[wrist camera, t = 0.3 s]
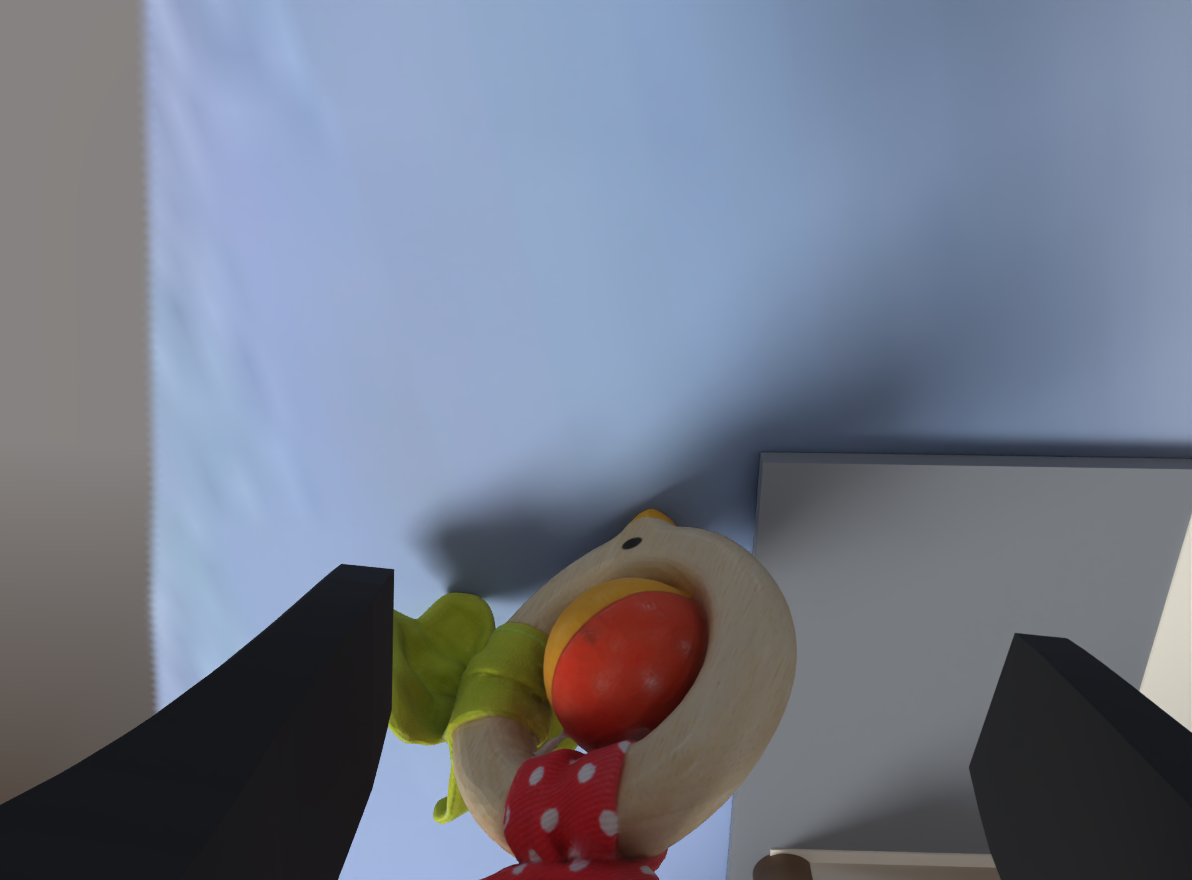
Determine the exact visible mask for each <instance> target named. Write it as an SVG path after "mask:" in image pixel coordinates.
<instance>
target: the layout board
mask: <svg viewBox="0 0 1192 880" xmlns="http://www.w3.org/2000/svg"><path fill="white" fill-rule="evenodd" d="M752 555H753V556H754V557H755V558H756V559H757V560H758V561H759V562H760V563H761V564H762V565H763V566H764V567H765V568H766V569H767V571H768V572H769V573H770V575H771V576H772V577H773V579H774V580H775V582H776V583H777V585H778V586H779V588H780V590H781V592H782V593H783V595H784V597H785V599H786V602H787V604H788V606H789V609H790V613H791V616H792V619H793V623H794V628H795V633H796V643H797V664H796V673H795V679H794V683H793V687H792V691H791V695H790V698H789V701H788V704H787V706H786V709H785V712H784V714H783V717H782V719H781V721H780V723H779V726H778V728H777V730H776V732H775V734H774V735H773V737H772V739H771V741H770V742H769V744H768V746H767V748H766V749H765V751H764V753H763V755H762V756H761V758H760V759H759V761H758V763H757V764H756V765H755V767H754V768H753V769H752V771H751V772H750V774H749V775H748V776H747V778H746V779H745V780H744V782H743V783H742V784H741V785H740V786H739V788H738V789H737V790H736V791H735V792H734V793H733V800H732V812H731V825H730V837H729V849H728V862H727V874H726V880H753V869H754V867H755V865H756V864H757V862H758V861H759V860H761V859H762V858H763V857H765V856H767V855H769V854H770V856H772V855H776V854H785V853H787V854H794V855H798V856H800V857H803V858H804V859H806V860H807V861H808V862H809V863H844V864H881V865H917V866H954V867H990V868H996V866H995V863H994V861H993V858H992V855H991V853H990V850H989V847H988V843H987V839H986V836H985V832H984V828H983V825H982V821H981V817H980V814H979V809H978V805H977V801H976V797H975V792H974V788H973V784H972V780H971V775H970V771H969V765H970V762H971V759H972V756H973V753H974V750H975V747H976V745H977V742H978V739H979V736H980V733H981V730H982V727H983V724H984V721H985V718H986V715H987V712H988V709H989V707H990V704H991V701H992V698H993V695H994V692H995V689H996V686H997V683H998V680H999V677H1000V674H1001V671H1002V669H1003V666H1004V663H1005V660H1006V657H1007V654H1008V651H1009V648H1010V645H1011V642H1012V639H1013V636H1014V634H1015V633H1022V634H1031V635H1041V636H1051V637H1061V638H1068V639H1069V640H1071V641H1072V642H1074V643H1075V644H1077V645H1078V646H1080V647H1081V648H1083V649H1084V650H1085V651H1087V652H1088V653H1090V654H1091V655H1092V656H1094V657H1095V658H1097V659H1098V660H1099V661H1101V662H1102V663H1103V664H1105V665H1106V666H1107V667H1109V668H1110V669H1111V670H1112V671H1114V672H1115V673H1116V674H1118V675H1119V676H1120V677H1122V678H1123V679H1124V680H1126V681H1127V682H1128V683H1129V684H1131V685H1132V686H1133V687H1134V688H1136V689H1137V690H1138V691H1140V692H1141V693H1142V694H1143V695H1145V696H1146V697H1147V698H1148V699H1150V700H1151V701H1152V702H1154V703H1155V704H1156V705H1157V706H1159V707H1160V708H1161V709H1162V710H1164V711H1165V712H1166V713H1167V714H1169V715H1170V716H1171V717H1173V718H1174V719H1175V720H1176V721H1178V722H1179V723H1180V724H1182V725H1183V726H1184V727H1185V728H1187V729H1188V730H1189V731H1190V732H1192V459H1172V458H1108V457H1044V456H981V455H917V454H853V453H789V452H761V453H760V466H759V478H758V490H757V503H756V515H755V527H754V540H753V552H752Z"/></svg>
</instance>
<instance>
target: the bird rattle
mask: <svg viewBox="0 0 1192 880" xmlns="http://www.w3.org/2000/svg"><path fill="white" fill-rule="evenodd" d="M796 664H797V643H796V633H795V628H794V623H793V619H792V616H791V613H790V609H789V606H788V604H787V602H786V599H785V597H784V595H783V593H782V592H781V590H780V588H779V586H778V585H777V583H776V582H775V580H774V579H773V577H772V576H771V575H770V573H769V572H768V571H767V569H766V568H765V567H764V566H763V565H762V564H761V563H760V562H759V561H758V560H757V559H756V558H755V557H754V556H753V555H752V554H751V553H749V552H748V551H747V550H746V549H744V548H743V547H742V546H740V545H739V544H737V543H736V542H734V541H732V540H730V539H729V538H727V537H725V536H723V535H720V534H718V533H715V532H712V531H709V530H705V529H700V528H693V527H677V525H676V524H675V523H674V522H673V521H672V520H671V519H670V518H669V517H668V516H666V515H665V514H664V513H662V512H660V511H658V510H656V509H647V510H645V511H643V512H641V513H640V514H638V515H637V516H636V517H635V518H634V519H633V520H632V521H631V522H630V523H629V524H628V525H627V526H626V527H625V528H624V529H623V531H622V532H621V533H619V534H618V535H617V536H616V537H614V538H613V539H611V540H610V541H608V542H606V543H605V544H603V545H601V546H599V547H597V548H595V549H593V550H592V551H590V552H588V553H587V554H585V555H584V556H582V557H580V558H579V559H577V560H576V561H574V562H573V563H571V564H570V565H569V566H567V567H566V568H564V569H563V570H562V571H560V572H559V573H558V574H556V575H555V576H554V577H553V578H552V579H551V580H549V581H548V582H547V583H546V584H545V585H544V586H542V587H541V588H540V589H539V590H538V591H537V592H536V593H535V594H534V595H533V596H532V597H530V598H529V599H528V600H527V601H526V602H525V603H524V604H523V605H522V606H521V607H520V608H519V609H518V610H517V611H516V613H515V614H514V615H513V616H512V617H511V618H510V619H509V620H508V621H507V622H506V623H505V624H503V625H501V626H499V627H498V628H497V629H496V627H495V622H494V617H493V614H492V611H491V609H490V607H489V605H488V604H487V602H486V601H485V600H483V599H482V598H480V597H478V596H477V595H473V594H466V593H457V592H454V593H448V594H446V595H444V596H442V597H441V598H440V599H438V600H437V601H436V602H435V603H434V604H433V605H432V606H431V607H430V608H429V609H428V610H427V611H426V612H425V613H424V614H423V615H422V616H421V617H420V618H419V619H413V618H410V617H408V616H405V615H403V614H402V613H400V612H398V611H396V610H394V609H393V672H392V711H391V716H390V720H389V724H388V726H389V728H390V729H391V731H392V732H393V733H394V734H395V735H396V736H397V737H398V738H399V739H400V740H402V741H403V742H405V743H409V744H422V745H435V744H438V743H442V742H447V743H448V745H449V748H450V758H451V773H450V779H449V787H448V796H447V797H445V798H443V799H441V800H439V801H438V802H437V804H436V806H435V808H434V813H433V817H434V820H435V821H436V822H438V823H440V824H444V823H447V822H450V821H452V820H454V819H455V818H457V817H459V816H460V815H462V814H464V813H466V812H467V811H470V813H471V815H472V816H473V818H474V819H475V821H476V822H477V823H478V825H479V826H480V827H481V828H482V829H483V830H484V831H485V833H486V834H487V835H488V836H489V837H490V838H491V839H492V840H493V841H495V842H496V843H497V844H498V845H499V846H500V847H501V848H503V849H504V850H505V851H506V852H507V853H509V854H511V855H512V856H514V857H516V859H517V861H518V862H519V864H514V865H511V866H509V867H506V868H504V869H502V870H500V871H498V872H497V873H495V874H493V875H491V876H488V877H486V878H483V879H480V880H659V878H658V877H657V875H656V874H655V873H654V871H655V870H657V869H658V868H659V866H660V865H661V863H662V861H663V860H664V859H665V857H666V854H667V851H668V847H670V846H672V845H673V844H675V843H676V842H678V841H679V840H681V839H682V838H684V837H685V836H687V835H688V834H689V833H691V832H692V831H693V830H695V829H696V828H697V827H699V826H700V825H701V824H702V823H703V822H704V821H706V820H707V819H708V818H709V817H710V816H711V815H712V814H714V813H715V812H716V811H717V810H718V809H719V808H720V807H721V806H722V805H723V804H724V803H725V802H726V801H727V800H728V799H729V798H730V797H731V795H732V794H733V793H734V792H735V791H736V790H737V789H738V788H739V786H740V785H741V784H742V783H743V782H744V780H745V779H746V778H747V776H748V775H749V774H750V772H751V771H752V769H753V768H754V767H755V765H756V764H757V763H758V761H759V759H760V758H761V756H762V755H763V753H764V751H765V749H766V748H767V746H768V744H769V742H770V741H771V739H772V737H773V735H774V734H775V732H776V730H777V728H778V726H779V723H780V721H781V719H782V717H783V714H784V712H785V709H786V706H787V704H788V701H789V698H790V695H791V691H792V687H793V683H794V679H795V673H796ZM578 745H579V746H580V747H581V748H583V749H584V750H585V751H586V752H588V753H587V754H583V753H581V752H579V751H575V749H576V747H577V746H578Z"/></svg>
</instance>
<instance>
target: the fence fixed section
mask: <svg viewBox="0 0 1192 880" xmlns="http://www.w3.org/2000/svg"><path fill="white" fill-rule="evenodd" d="M753 880H1001V879H1000V876H999V874H998V871H997V869H996V868H990V867H954V866H917V865H881V864H844V863H809V862H808V861H807V860H806V859H804V858H803V857H800V856H798V855H794V854H787V853H785V854H776V855H772V856H770V854H769V855H767V856H765V857H763V858H762V859H761V860H759V861H758V862H757V864H756V865H755V867H754V869H753Z"/></svg>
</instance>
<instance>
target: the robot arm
mask: <svg viewBox="0 0 1192 880" xmlns="http://www.w3.org/2000/svg"><path fill="white" fill-rule="evenodd" d="M393 606H394V569H386V568H376V567H366V566H356V565H347V564H341V565H339V566H338V567H337V568H335V569H334V570H333V571H332V572H330V573H329V574H328V575H327V576H326V577H324V578H323V579H322V580H321V581H320V582H319V583H318V584H316V585H315V586H314V587H313V588H312V589H311V590H310V591H309V592H307V593H306V594H305V595H304V596H303V597H302V598H301V599H300V600H298V601H297V602H296V603H295V604H294V605H293V606H292V607H290V608H289V609H288V610H287V611H286V612H285V613H283V614H282V615H281V616H280V617H279V618H278V619H277V620H275V621H274V622H273V623H272V624H271V625H270V626H268V627H267V628H266V629H265V630H264V631H262V632H261V633H260V634H259V635H258V636H256V637H255V638H254V639H253V640H251V641H250V642H249V643H248V644H247V645H245V646H244V647H243V648H242V649H241V650H239V651H238V652H237V653H236V654H234V655H233V656H232V657H231V658H230V659H228V660H227V661H226V662H225V663H223V664H222V665H221V666H220V667H218V668H217V669H216V670H214V671H213V672H212V673H211V674H209V675H208V676H207V677H205V678H204V679H202V680H201V681H200V682H198V683H197V684H196V685H194V686H193V687H192V688H190V689H189V690H188V691H186V692H185V693H184V694H182V695H181V696H179V697H178V698H177V699H175V700H174V701H173V702H171V703H170V704H169V705H167V706H166V707H165V708H163V709H162V710H160V711H159V712H158V713H156V714H155V715H153V716H152V717H151V718H149V719H148V720H146V721H145V722H143V723H142V724H140V725H139V726H137V727H136V728H134V729H133V730H131V731H130V732H128V733H126V734H125V735H123V736H122V737H120V738H119V739H117V740H115V741H114V742H112V743H110V744H109V745H107V746H105V747H104V748H103V749H100V750H99V751H97V752H96V753H94V754H92V755H91V756H89V757H87V758H86V759H84V760H82V761H81V762H79V763H78V764H76V765H74V766H72V767H71V768H69V769H67V770H65V771H64V772H62V773H60V774H58V775H56V776H55V777H53V778H51V779H49V780H47V781H45V782H43V783H41V784H39V785H37V786H36V787H34V788H32V789H30V790H28V791H26V792H24V793H22V794H20V795H18V796H17V797H15V798H13V799H11V800H9V801H7V802H5V803H3V804H1V805H0V880H338V878H339V875H340V873H341V870H342V868H343V865H344V862H345V860H346V857H347V855H348V852H349V849H350V847H351V844H352V841H353V839H354V836H355V833H356V831H357V828H358V825H359V823H360V820H361V818H362V815H363V812H364V810H365V807H366V804H367V802H368V799H369V796H370V793H371V791H372V788H373V784H374V780H375V776H376V772H377V768H378V764H379V761H380V757H381V753H382V749H383V744H384V740H385V736H386V732H387V728H388V724H389V720H390V716H391V711H392V672H393ZM969 771H970V775H971V780H972V784H973V788H974V792H975V797H976V801H977V805H978V809H979V814H980V817H981V821H982V825H983V828H984V832H985V836H986V839H987V843H988V847H989V850H990V853H991V855H992V858H993V861H994V863H995V866H996V869H997V871H998V874H999V876H1000V879H1001V880H1192V732H1190V731H1189V730H1188V729H1187V728H1185V727H1184V726H1183V725H1182V724H1180V723H1179V722H1178V721H1176V720H1175V719H1174V718H1173V717H1171V716H1170V715H1169V714H1167V713H1166V712H1165V711H1164V710H1162V709H1161V708H1160V707H1159V706H1157V705H1156V704H1155V703H1154V702H1152V701H1151V700H1150V699H1148V698H1147V697H1146V696H1145V695H1143V694H1142V693H1141V692H1140V691H1138V690H1137V689H1136V688H1134V687H1133V686H1132V685H1131V684H1129V683H1128V682H1127V681H1126V680H1124V679H1123V678H1122V677H1120V676H1119V675H1118V674H1116V673H1115V672H1114V671H1112V670H1111V669H1110V668H1109V667H1107V666H1106V665H1105V664H1103V663H1102V662H1101V661H1099V660H1098V659H1097V658H1095V657H1094V656H1092V655H1091V654H1090V653H1088V652H1087V651H1085V650H1084V649H1083V648H1081V647H1080V646H1078V645H1077V644H1075V643H1074V642H1072V641H1071V640H1069V639H1068V638H1061V637H1051V636H1041V635H1031V634H1022V633H1015V634H1014V636H1013V639H1012V642H1011V645H1010V648H1009V651H1008V654H1007V657H1006V660H1005V663H1004V666H1003V669H1002V671H1001V674H1000V677H999V680H998V683H997V686H996V689H995V692H994V695H993V698H992V701H991V704H990V707H989V709H988V712H987V715H986V718H985V721H984V724H983V727H982V730H981V733H980V736H979V739H978V742H977V745H976V747H975V750H974V753H973V756H972V759H971V762H970V765H969Z"/></svg>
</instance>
